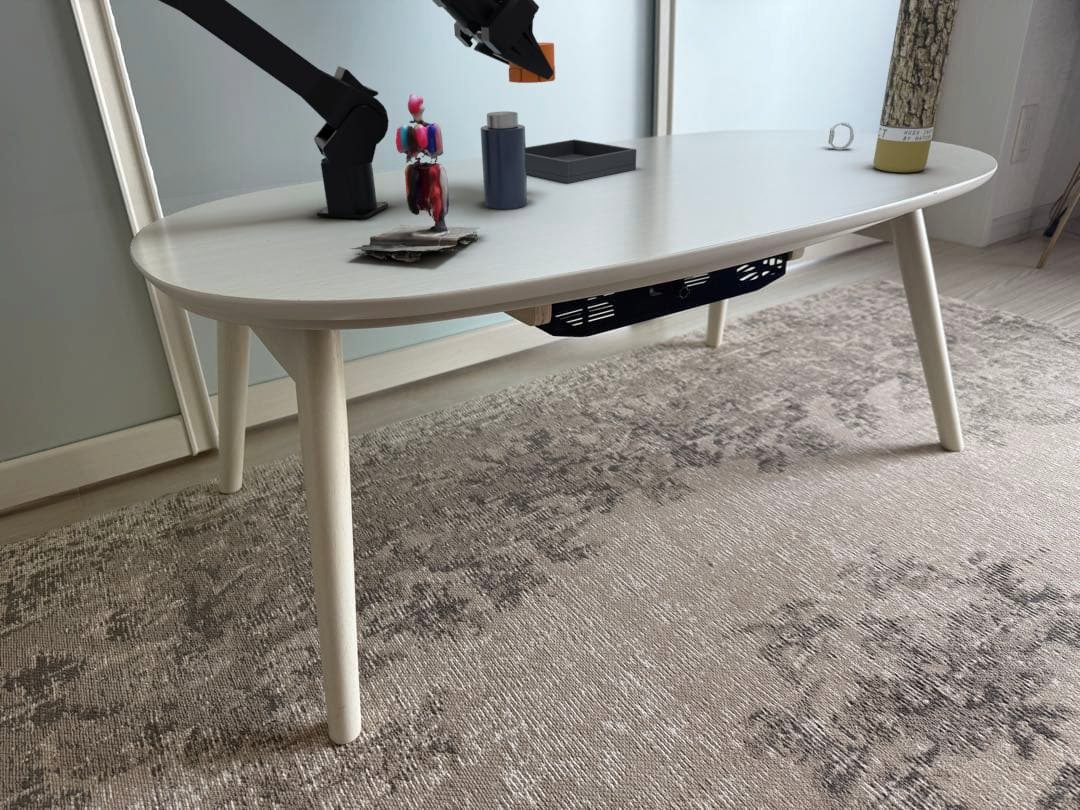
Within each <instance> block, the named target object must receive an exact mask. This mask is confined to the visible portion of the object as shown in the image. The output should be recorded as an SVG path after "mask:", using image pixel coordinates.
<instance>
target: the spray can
mask: <svg viewBox="0 0 1080 810" xmlns="http://www.w3.org/2000/svg"><path fill="white" fill-rule="evenodd" d="M480 143H481V159H482V160H481V161H482V177H483V178H482V180H483V196H484V206H485V207H486V208H489V209H495V210H515V209H519V208H523V207H526V206H527V205H528V184H527V181H528V179H527V177H528V176H527V174H526V147H527V145H526V144H527V143H526V126H525V125H523V124H519V114H518V112H516V111H507V110H506V111H491V112H488V113H486V125H483V126H481V127H480Z"/></svg>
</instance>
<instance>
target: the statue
mask: <svg viewBox="0 0 1080 810" xmlns="http://www.w3.org/2000/svg"><path fill="white" fill-rule="evenodd" d="M407 110H408V113H410V115H411V116H412V118H413V119H412V120H409V124H414V126H412V125H405V124H401V125H400V126H399V127H398V128H397V129H396V135H395V136H396V137H395V145H396V151H397V152H398V153H399V154H403V153H404V154H405V155H406V156H405V163H406V164H407V163H409V162H410V163H409V164H408V165H407V166H406V167H405V169H404V178H405V181H404V182H405V192H406V193H405V194H406V205H407V210H409V212H410V213H411V214H412V215H414V216H418V215H419V214H420V211H421V212H422V211H424V212H427V213H428V215H429V217H430V218H431V219H433V222H434V225H431V226H429V225H408V224H401V225H397V226H395V227H394V228H392V229H390V230H388V231H385V232H382V233H380V234H377V235H371V236H370V237H369V244H363V245H361V246H357V247H352V248H350V250H361V252H363V253H356V255H357V256H360V255H362V256H371V257H375V258H377V259H379V260H383V259H384V258H385V260H387V258H386V256H391V258H393V259H395V260H397V261H404V262H406V263H414V262H417V261H421V260H420V259H421V257H420V256H421V255H422V254H423V253H430V252H432V251H434V252H436V251H439V252H442V253H443V250H444V251H445V252H446V251H447V252H448V251H457V252H458V249H454V248H451V247H456V246H457V245H458V240H459V243H460V244H463V245H468V244H469V243H471V240H461V239H462V238H464V237H466V238H474V239H475V240H476V241H477V240H478V239H477V238H478V235H477V233H478V231H477V230H479V229H481V226H447V223H446V220H445V217H446V216H447V215H448V214H449V207H450V201H449V199H450V197H449V181H448V180H449V179H448V175H447V172H446V169H445V167H444V165H443V164H441V163H437V161H438V157H440V156H442V155H443V154H444V145H443V144H444V143H443V142H444V141H443V134H442V129H441V125H440V124H439V123H435V122H433V123H429V122H426V121H424V117H423V113H425V110H426V107H425V104H424V98H423V96H422V95H421V96H420V95H419V94H410V95H409V98H408V102H407ZM415 123H416V124H415ZM421 153H422V154H423V155H421V157H422V158H425V156H426V157H428V158H430V162H428V161H425V162H422V161H421V157H418V156H419V154H421ZM413 158H414V160H415V161H414V162H413V160H412V159H413ZM433 160H434V162H433ZM444 248H448V249H444Z"/></svg>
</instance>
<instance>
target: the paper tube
mask: <svg viewBox="0 0 1080 810" xmlns="http://www.w3.org/2000/svg"><path fill="white" fill-rule="evenodd" d="M959 5H960V0H900V3H899V9H898V14H897V20H896V26H895V31H894V38H893V44H892V49H891V56H890V60H889V61H890V62H889V67H888V73H887V79H886V84H885V90H884V97H883V102H882V109H881V113H880V120H879V124H878V125H879V126H878V130H877V131H878V132H877V139H876V145H875V151H874V157H873V166H874V168H875V169H877V170H879V171H884V172H889V173H902V174H903V173H905V174H906V173H916V172H921V171H922V170H924V169H925V168H926V167H927V162H928V158H929V154H930V149H931V143H932V139H933V136H934V135H933V134H934V130H935V125H936V120H937V115H938V109H939V104H940V99H941V94H942V91H943V84H944V80H945V75H946V69H947V65H948V59H949V55H950V51H951V46H952V45H951V44H952V41H953V35H954V30H955V25H956V19H957V15H958V11H959Z"/></svg>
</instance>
